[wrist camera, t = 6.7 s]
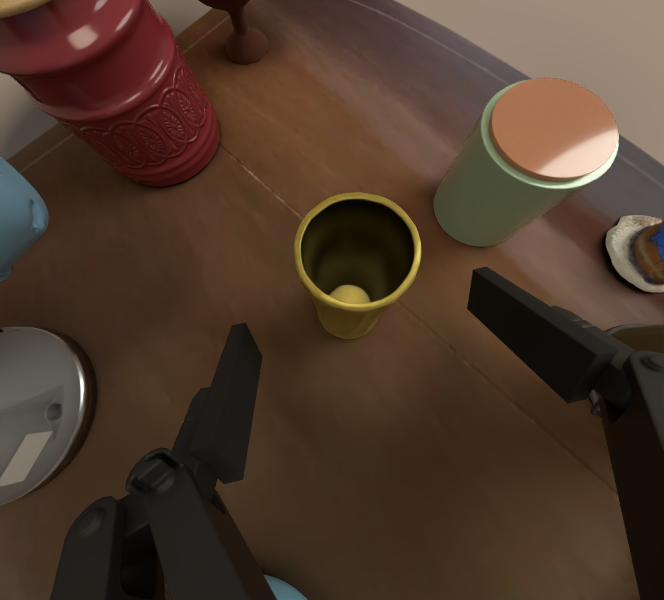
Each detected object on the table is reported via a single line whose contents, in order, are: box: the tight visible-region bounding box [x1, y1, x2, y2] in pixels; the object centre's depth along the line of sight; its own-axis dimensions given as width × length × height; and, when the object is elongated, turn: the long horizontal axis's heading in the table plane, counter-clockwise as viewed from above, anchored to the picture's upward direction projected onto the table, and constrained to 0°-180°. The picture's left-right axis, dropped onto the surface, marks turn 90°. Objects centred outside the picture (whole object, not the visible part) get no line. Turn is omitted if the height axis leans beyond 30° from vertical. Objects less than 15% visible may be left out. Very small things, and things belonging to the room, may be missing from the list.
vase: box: [293, 192, 422, 339], centre depth 17 cm, size 6×6×14 cm
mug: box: [433, 78, 619, 247], centre depth 21 cm, size 9×12×9 cm
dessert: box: [606, 215, 664, 292], centre depth 23 cm, size 8×7×6 cm
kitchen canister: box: [0, 0, 220, 186], centre depth 20 cm, size 13×13×18 cm
